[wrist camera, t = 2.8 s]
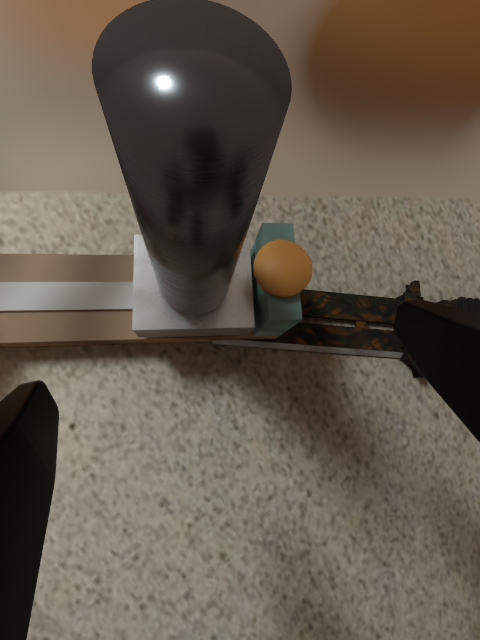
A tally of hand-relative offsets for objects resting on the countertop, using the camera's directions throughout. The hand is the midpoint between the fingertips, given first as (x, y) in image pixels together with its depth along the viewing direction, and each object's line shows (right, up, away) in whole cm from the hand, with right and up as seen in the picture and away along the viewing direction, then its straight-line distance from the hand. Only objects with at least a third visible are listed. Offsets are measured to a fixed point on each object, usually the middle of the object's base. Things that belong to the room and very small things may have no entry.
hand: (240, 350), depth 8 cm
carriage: (-3, +2, +10) cm, 11 cm away
